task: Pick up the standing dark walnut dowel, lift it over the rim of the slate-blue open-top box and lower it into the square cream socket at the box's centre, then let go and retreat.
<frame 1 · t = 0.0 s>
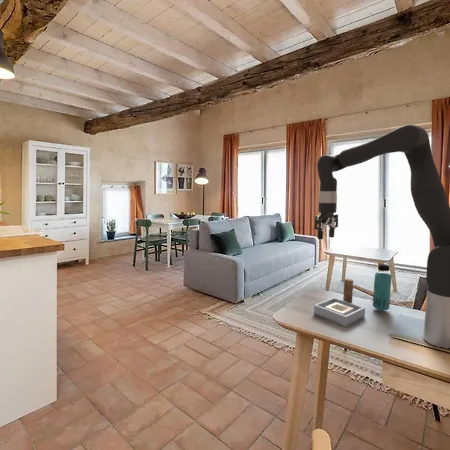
hand: (326, 238, 131), 29 cm above the table, fingers open, 8 cm apart
peg: (347, 306, 129), on the table
box: (338, 315, 119), on the table
beverage bottle: (380, 311, 124), on the table
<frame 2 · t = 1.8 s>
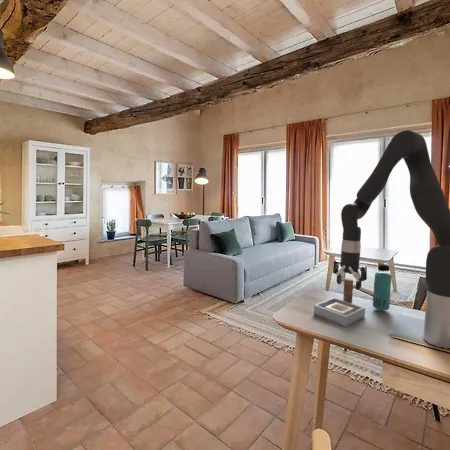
hand: (348, 286, 128), 9 cm above the table, fingers open, 8 cm apart
nothing on the table moved.
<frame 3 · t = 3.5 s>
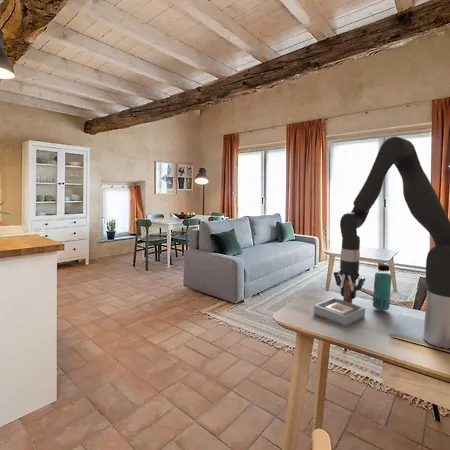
hand: (347, 297, 128), 4 cm above the table, fingers closed on peg, 3 cm apart
peg: (347, 306, 129), on the table, touching gripper
everything else where it was.
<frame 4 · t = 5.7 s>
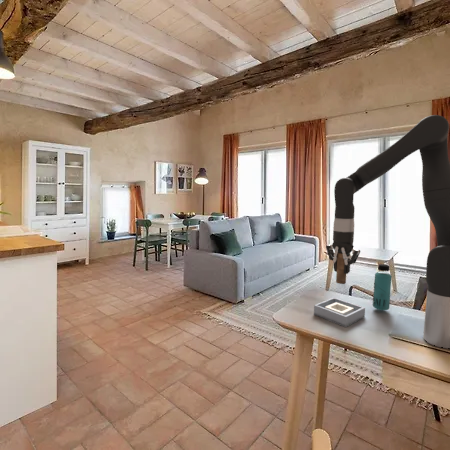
hand: (341, 272, 117), 18 cm above the table, fingers closed on peg, 3 cm apart
peg: (340, 282, 118), point 14 cm above the table, touching gripper
everything else where it was.
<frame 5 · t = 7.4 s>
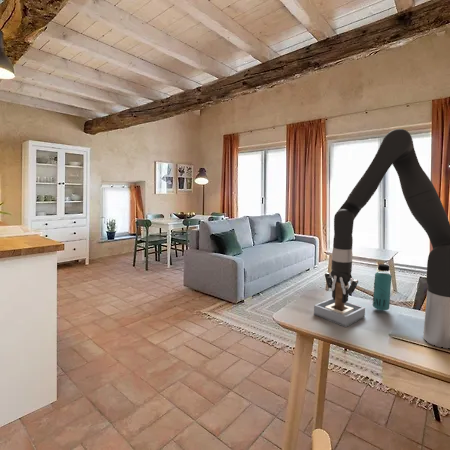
hand: (339, 300, 119), 6 cm above the table, fingers closed on peg, 3 cm apart
peg: (339, 310, 119), point 2 cm above the table, touching gripper
everything else where it was.
when the fingers open (6 cm above the table, at t = 8.4 s): peg drops 1 cm, resting on box.
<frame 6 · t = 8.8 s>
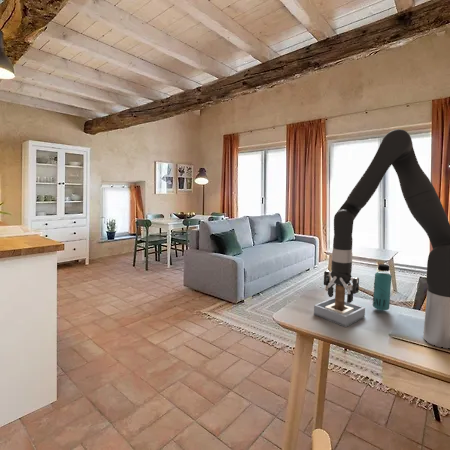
hand: (339, 299, 119), 7 cm above the table, fingers open, 7 cm apart
peg: (339, 313, 119), point 1 cm above the table, touching box
everything else where it was.
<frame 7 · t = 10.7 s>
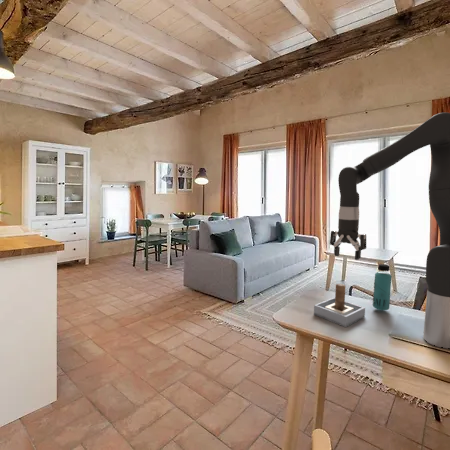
hand: (346, 257, 119), 23 cm above the table, fingers open, 8 cm apart
nothing on the table moved.
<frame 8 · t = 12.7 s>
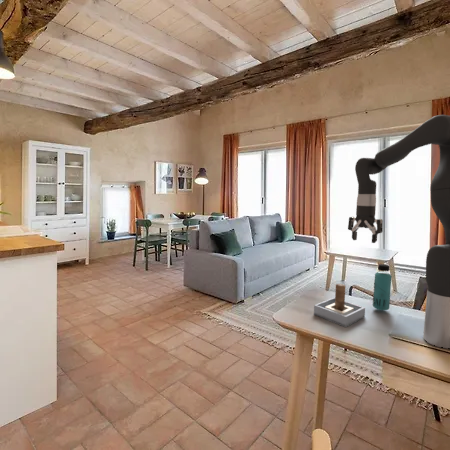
hand: (363, 241, 130), 28 cm above the table, fingers open, 8 cm apart
nothing on the table moved.
at the end: peg 0.0 cm off-centre on the box, point 0.8 cm above the box's base; peg tilted 0°; the gripper is holding nothing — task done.
